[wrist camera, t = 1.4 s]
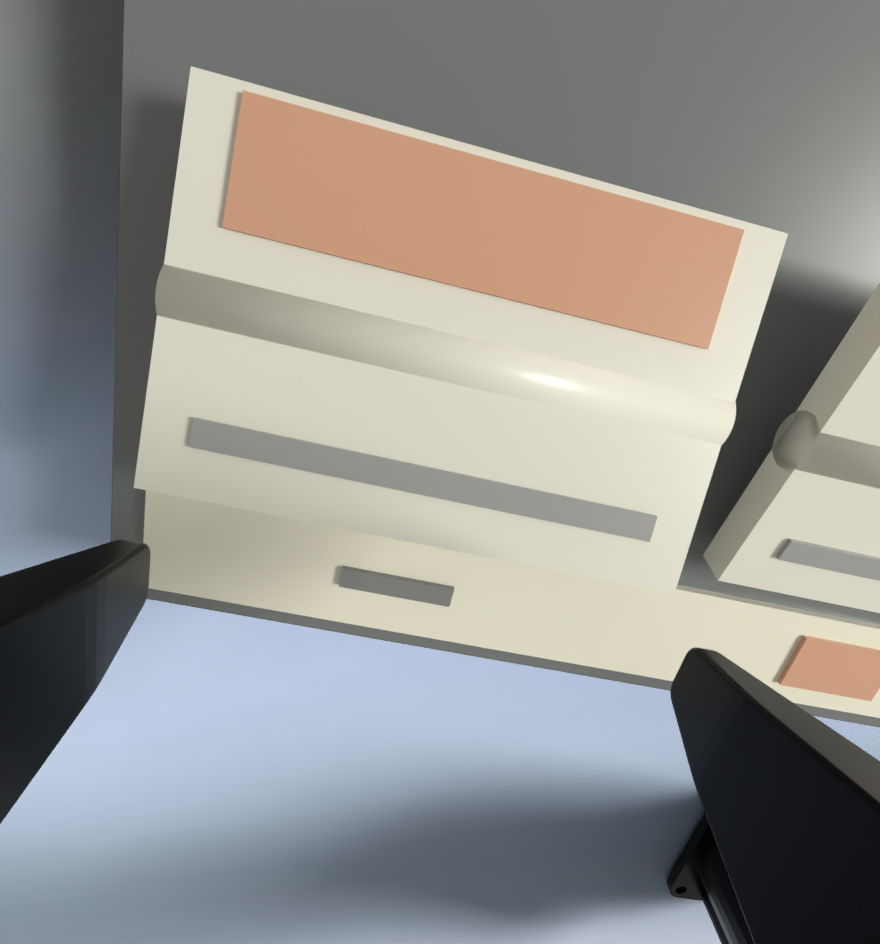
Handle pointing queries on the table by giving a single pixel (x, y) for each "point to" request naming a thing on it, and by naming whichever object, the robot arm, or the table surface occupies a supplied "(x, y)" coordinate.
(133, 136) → the switch panel
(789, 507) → the cream slotted panel
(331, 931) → the table surface
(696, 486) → the rocker
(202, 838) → the table surface
